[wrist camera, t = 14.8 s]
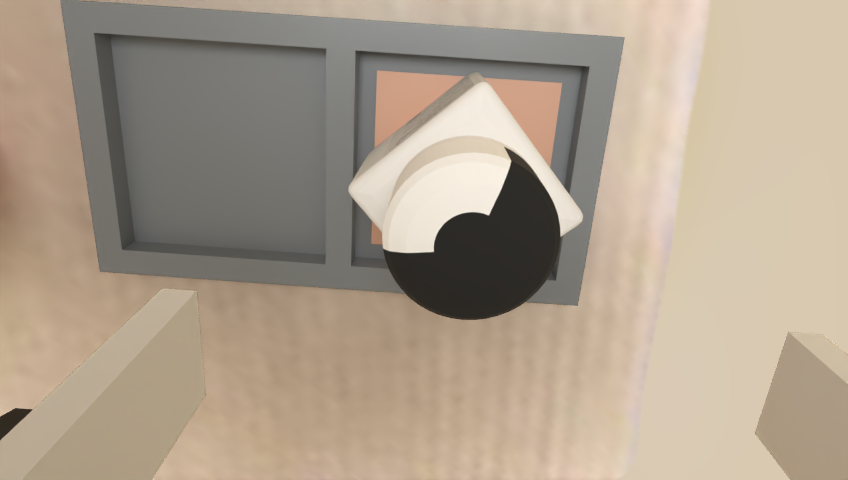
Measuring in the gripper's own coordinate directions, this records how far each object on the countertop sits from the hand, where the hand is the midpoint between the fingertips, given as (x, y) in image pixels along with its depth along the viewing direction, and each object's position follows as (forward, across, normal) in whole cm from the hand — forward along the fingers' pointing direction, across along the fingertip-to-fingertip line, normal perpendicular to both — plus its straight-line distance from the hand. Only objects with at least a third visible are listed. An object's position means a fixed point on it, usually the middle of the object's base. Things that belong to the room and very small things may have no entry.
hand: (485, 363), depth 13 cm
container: (+21, 0, 0) cm, 21 cm away
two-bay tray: (+22, -7, 0) cm, 23 cm away
